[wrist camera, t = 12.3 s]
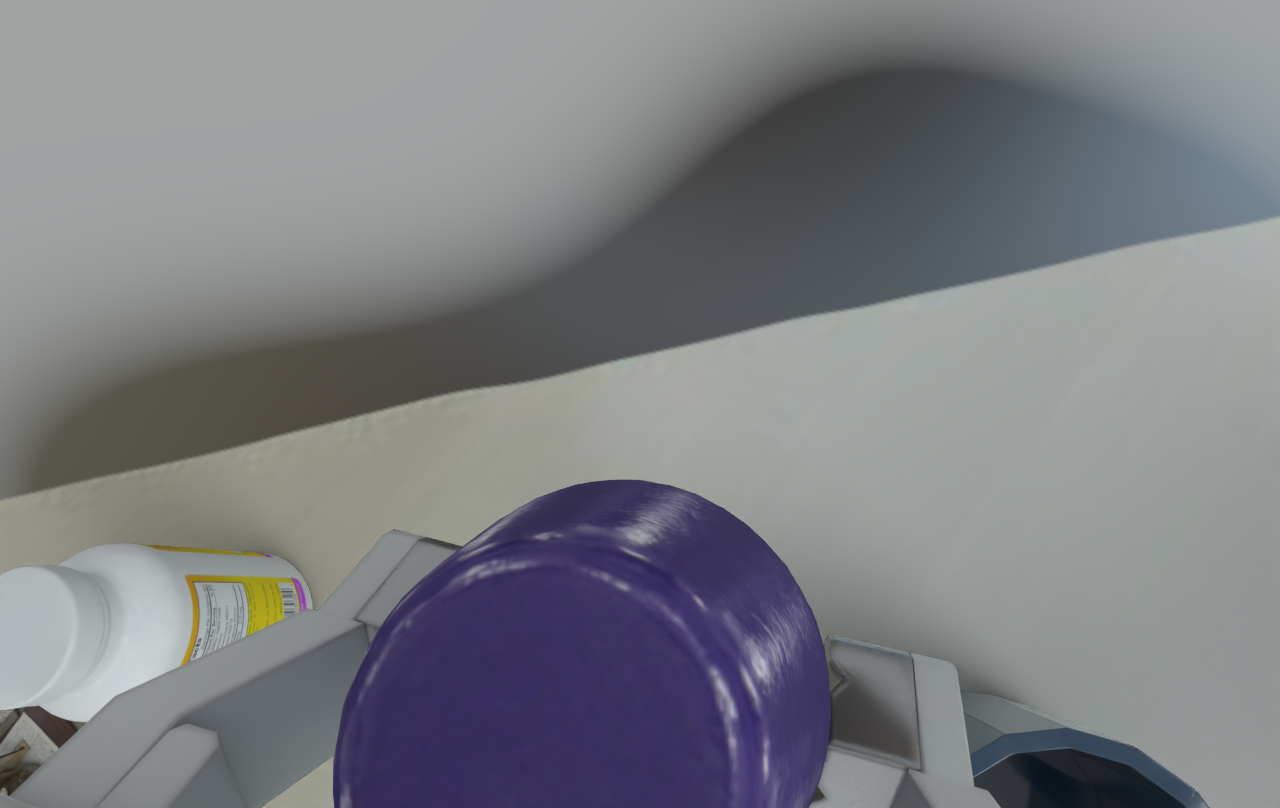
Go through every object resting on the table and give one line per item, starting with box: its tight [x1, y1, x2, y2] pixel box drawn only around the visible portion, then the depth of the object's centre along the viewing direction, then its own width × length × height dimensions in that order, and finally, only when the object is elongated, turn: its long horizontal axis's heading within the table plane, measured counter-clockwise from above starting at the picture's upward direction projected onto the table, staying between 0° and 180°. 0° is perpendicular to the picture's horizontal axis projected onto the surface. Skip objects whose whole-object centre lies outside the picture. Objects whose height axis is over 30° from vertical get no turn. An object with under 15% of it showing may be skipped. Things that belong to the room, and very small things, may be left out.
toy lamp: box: [333, 480, 831, 808], centre depth 12 cm, size 5×5×17 cm
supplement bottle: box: [0, 543, 313, 722], centre depth 30 cm, size 7×7×13 cm
